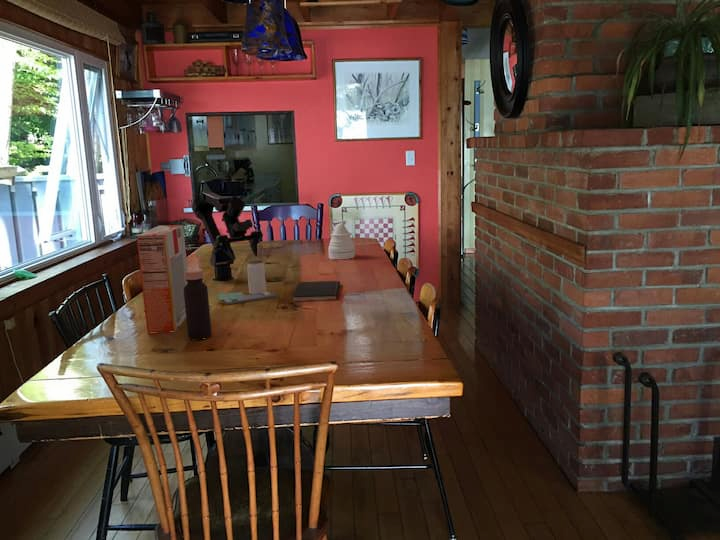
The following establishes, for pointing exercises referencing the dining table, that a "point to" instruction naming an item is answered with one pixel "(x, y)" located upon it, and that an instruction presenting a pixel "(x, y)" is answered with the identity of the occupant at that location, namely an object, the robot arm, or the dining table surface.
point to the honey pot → (341, 243)
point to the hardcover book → (316, 290)
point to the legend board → (249, 297)
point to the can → (256, 277)
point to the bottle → (197, 305)
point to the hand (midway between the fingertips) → (245, 257)
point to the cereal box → (163, 276)
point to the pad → (229, 295)
